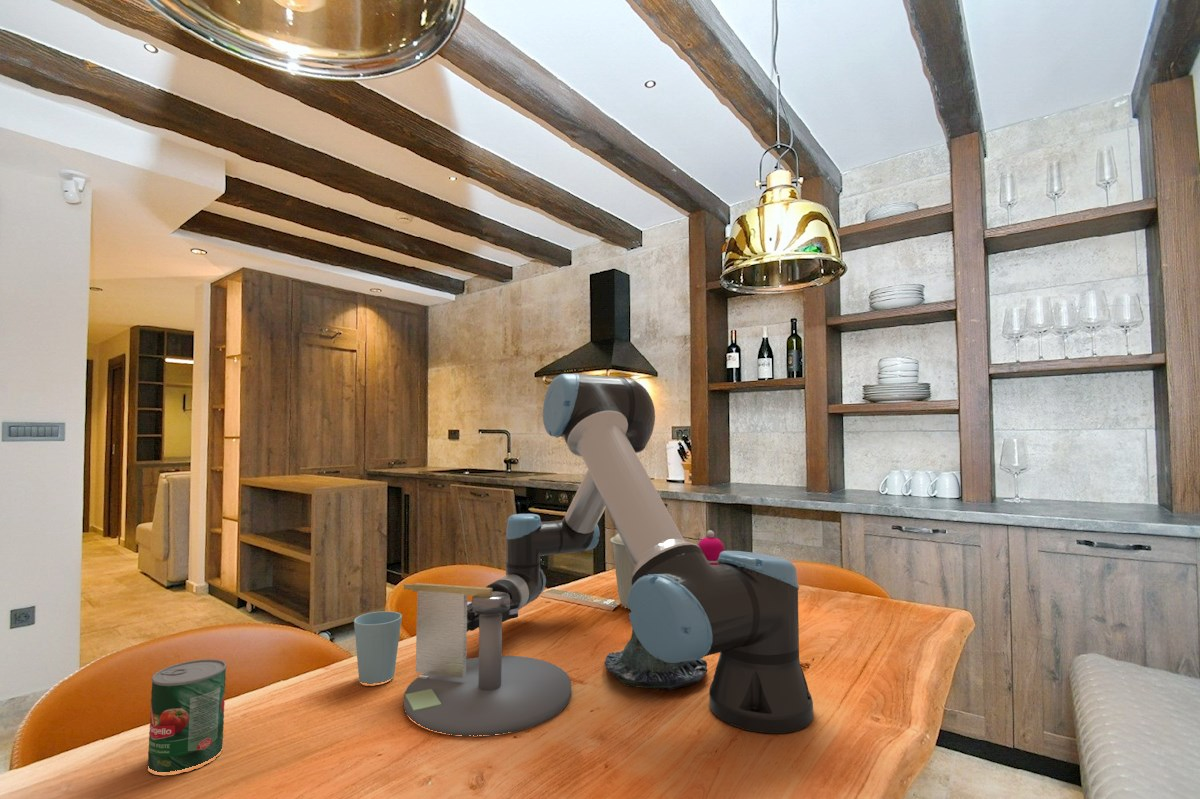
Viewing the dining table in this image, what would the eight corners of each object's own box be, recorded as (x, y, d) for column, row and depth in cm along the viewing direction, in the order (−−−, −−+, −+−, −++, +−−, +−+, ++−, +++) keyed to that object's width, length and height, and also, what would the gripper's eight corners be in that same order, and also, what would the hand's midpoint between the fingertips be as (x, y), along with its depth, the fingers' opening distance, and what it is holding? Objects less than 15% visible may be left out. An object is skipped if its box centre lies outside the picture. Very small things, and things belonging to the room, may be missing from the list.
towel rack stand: (514, 673, 94) (515, 585, 95) (499, 689, 88) (500, 594, 90) (412, 662, 99) (414, 578, 100) (392, 676, 93) (394, 587, 94)
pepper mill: (725, 614, 135) (724, 528, 136) (729, 624, 128) (728, 533, 129) (694, 613, 136) (693, 527, 137) (696, 623, 128) (695, 532, 130)
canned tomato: (236, 742, 78) (239, 658, 78) (197, 776, 70) (201, 682, 71) (175, 743, 77) (180, 659, 78) (130, 777, 69) (135, 683, 70)
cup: (345, 691, 94) (348, 625, 94) (358, 672, 101) (361, 611, 102) (394, 688, 95) (396, 623, 95) (403, 670, 102) (405, 610, 103)
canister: (601, 615, 135) (601, 523, 136) (620, 595, 152) (620, 514, 153) (678, 622, 129) (677, 527, 131) (689, 601, 147) (688, 517, 148)
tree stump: (716, 660, 108) (717, 571, 105) (697, 737, 89) (697, 631, 86) (623, 643, 114) (621, 559, 111) (587, 712, 96) (583, 613, 93)
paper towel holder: (597, 714, 86) (597, 627, 87) (415, 753, 75) (417, 654, 76) (540, 655, 109) (540, 588, 110) (395, 679, 98) (397, 604, 99)
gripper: (533, 619, 116) (479, 662, 93) (475, 613, 120) (408, 654, 97) (533, 581, 117) (479, 614, 94) (475, 577, 120) (410, 608, 97)
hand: (443, 634), depth 96 cm, fingers closed
